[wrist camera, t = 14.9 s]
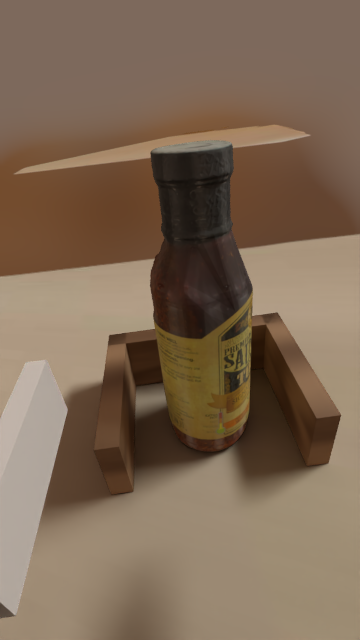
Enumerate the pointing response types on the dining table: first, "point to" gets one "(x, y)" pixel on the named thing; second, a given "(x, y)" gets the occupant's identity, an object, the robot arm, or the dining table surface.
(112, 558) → the dining table surface
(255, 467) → the dining table surface
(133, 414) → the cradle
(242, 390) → the sauce bottle
